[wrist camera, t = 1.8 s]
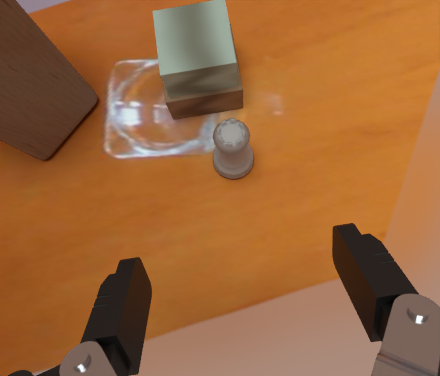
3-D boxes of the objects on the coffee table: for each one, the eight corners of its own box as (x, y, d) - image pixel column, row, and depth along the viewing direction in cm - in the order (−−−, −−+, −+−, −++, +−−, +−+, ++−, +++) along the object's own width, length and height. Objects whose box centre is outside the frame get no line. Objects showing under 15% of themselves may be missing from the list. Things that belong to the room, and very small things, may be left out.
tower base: (173, 119, 37) (155, 81, 29) (166, 59, 39) (147, 7, 31) (242, 108, 36) (242, 66, 29) (231, 47, 38) (229, -7, 31)
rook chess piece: (207, 172, 35) (197, 146, 27) (221, 136, 36) (215, 101, 28) (245, 185, 34) (247, 163, 27) (259, 148, 35) (264, 116, 28)
